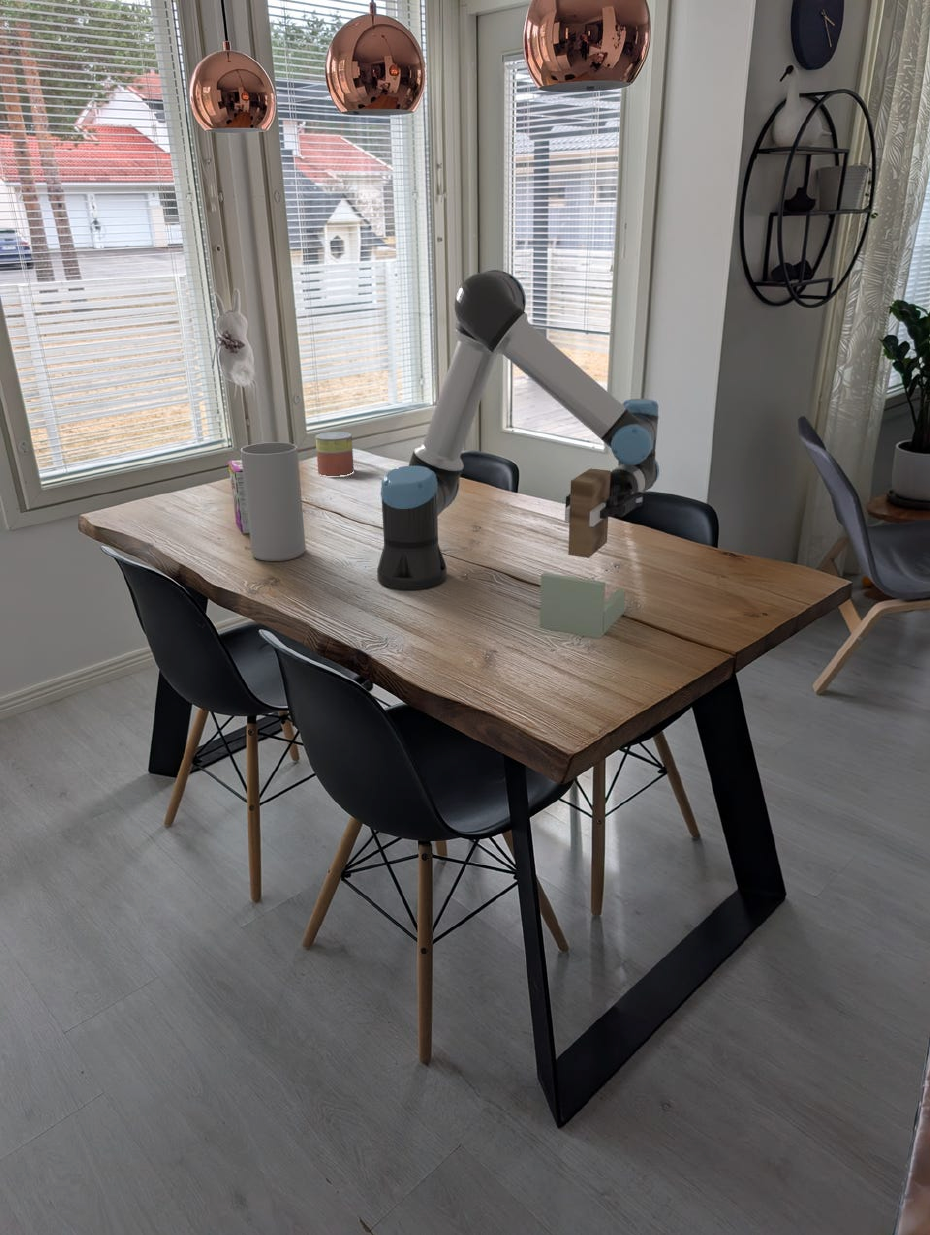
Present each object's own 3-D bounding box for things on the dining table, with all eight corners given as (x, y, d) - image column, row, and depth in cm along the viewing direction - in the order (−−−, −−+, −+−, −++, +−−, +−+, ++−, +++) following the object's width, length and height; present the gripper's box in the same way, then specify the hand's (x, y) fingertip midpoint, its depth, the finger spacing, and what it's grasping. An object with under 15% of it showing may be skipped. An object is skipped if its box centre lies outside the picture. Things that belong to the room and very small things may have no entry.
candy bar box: (234, 522, 237) (227, 460, 230) (253, 520, 238) (247, 459, 232) (241, 535, 227) (234, 470, 221) (261, 532, 229) (254, 468, 222)
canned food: (360, 474, 282) (357, 436, 277) (326, 479, 277) (323, 440, 272) (345, 467, 291) (343, 430, 286) (312, 472, 286) (309, 434, 281)
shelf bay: (599, 638, 167) (602, 585, 163) (539, 627, 172) (540, 575, 168) (627, 609, 180) (630, 558, 176) (570, 599, 185) (572, 549, 181)
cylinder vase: (241, 553, 214) (229, 448, 204) (286, 541, 222) (276, 439, 212) (271, 566, 205) (260, 457, 196) (316, 553, 213) (308, 447, 204)
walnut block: (588, 557, 166) (592, 483, 160) (568, 554, 167) (570, 480, 162) (607, 542, 174) (610, 470, 168) (587, 539, 176) (590, 468, 170)
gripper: (661, 510, 180) (623, 543, 161) (580, 500, 187) (535, 531, 168) (663, 473, 177) (625, 502, 158) (581, 464, 184) (535, 491, 165)
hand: (579, 517), depth 163 cm, fingers closed on walnut block, 4 cm apart
